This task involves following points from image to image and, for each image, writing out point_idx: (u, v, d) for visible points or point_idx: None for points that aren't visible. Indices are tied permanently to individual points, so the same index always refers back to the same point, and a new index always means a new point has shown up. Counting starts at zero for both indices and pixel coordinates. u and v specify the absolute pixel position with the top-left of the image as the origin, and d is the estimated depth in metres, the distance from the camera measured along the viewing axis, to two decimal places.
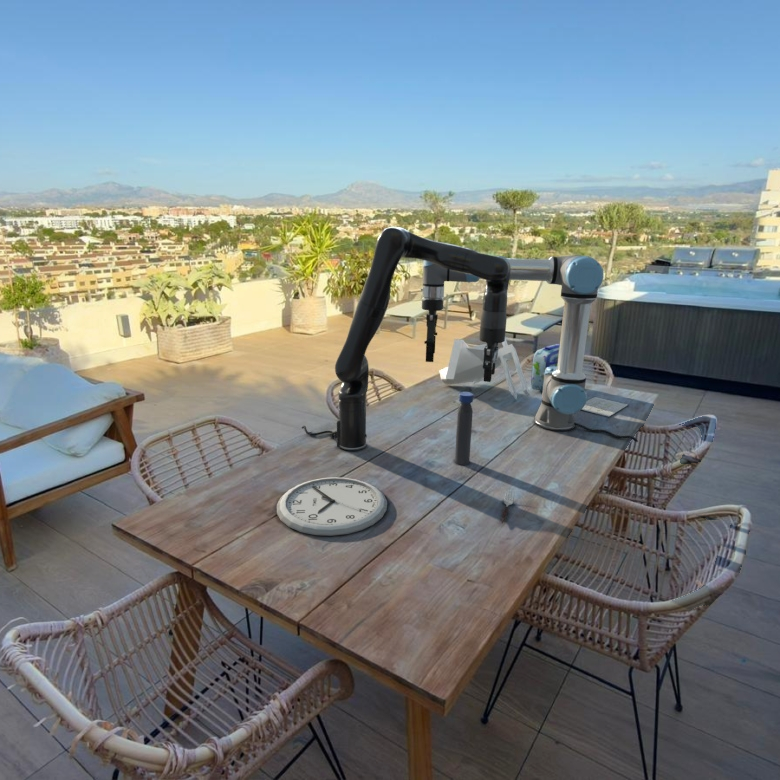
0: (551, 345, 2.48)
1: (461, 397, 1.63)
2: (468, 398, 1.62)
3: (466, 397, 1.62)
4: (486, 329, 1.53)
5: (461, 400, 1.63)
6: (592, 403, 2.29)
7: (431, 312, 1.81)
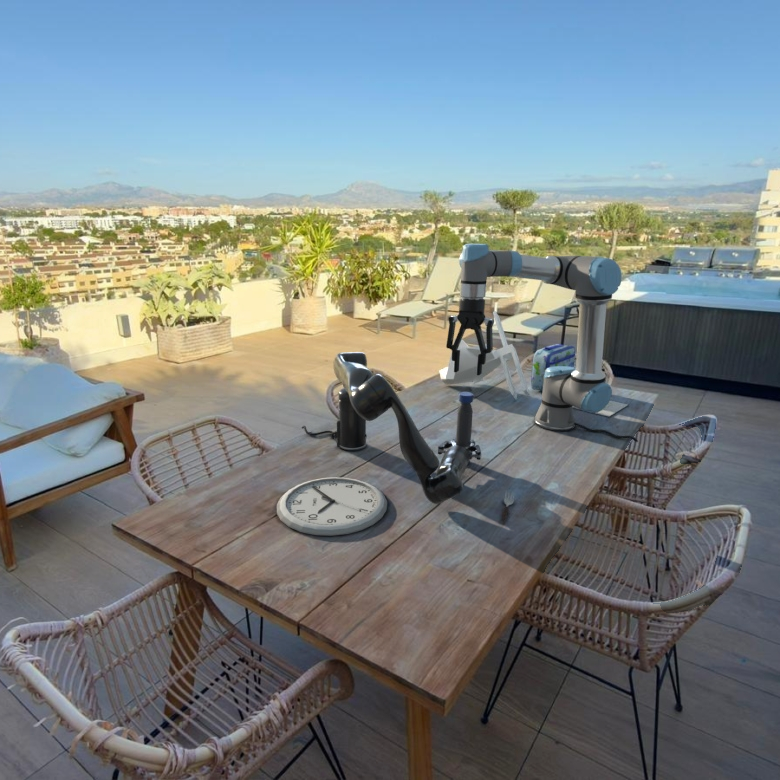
0: (551, 345, 2.48)
1: (461, 397, 1.63)
2: (468, 398, 1.62)
3: (466, 397, 1.62)
4: (444, 455, 1.57)
5: (461, 400, 1.63)
6: None
7: None
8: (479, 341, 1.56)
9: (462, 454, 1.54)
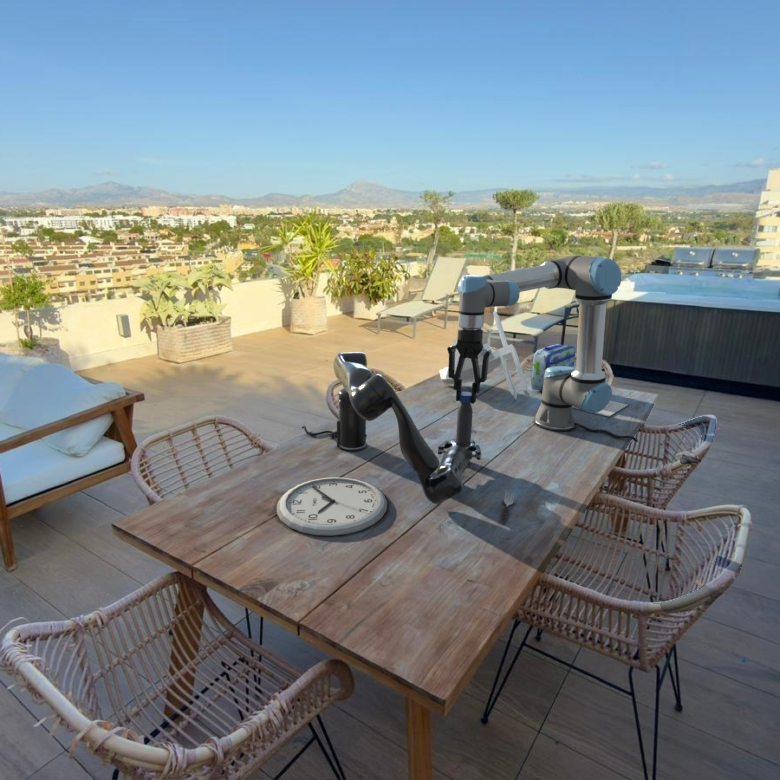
0: (551, 345, 2.48)
1: (461, 397, 1.63)
2: (468, 398, 1.62)
3: (466, 397, 1.62)
4: (444, 455, 1.57)
5: (461, 400, 1.63)
6: None
7: None
8: (474, 370, 1.59)
9: (462, 454, 1.54)
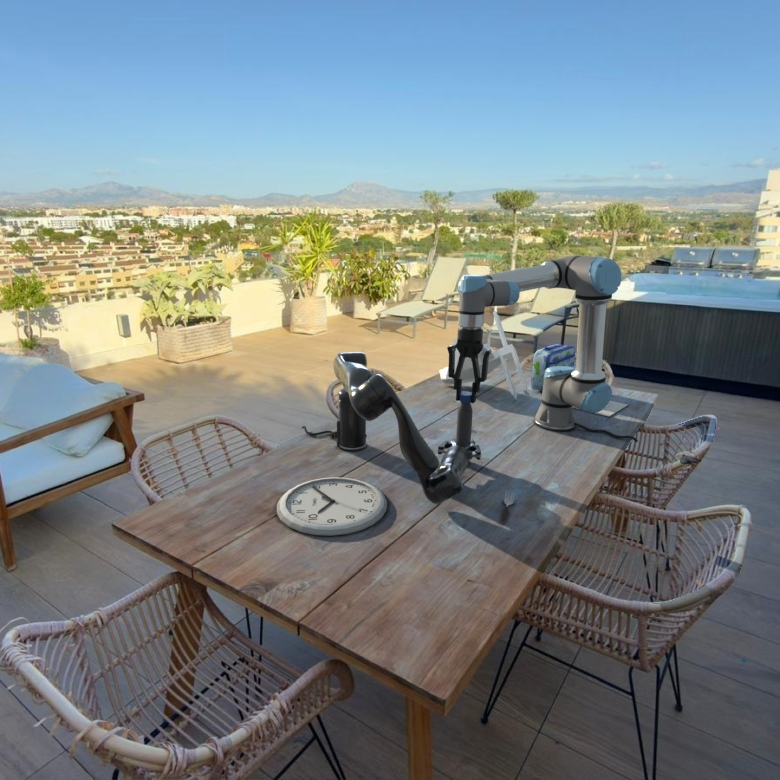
0: (551, 345, 2.48)
1: None
2: None
3: None
4: (444, 455, 1.57)
5: None
6: None
7: None
8: (475, 370, 1.59)
9: (462, 454, 1.54)
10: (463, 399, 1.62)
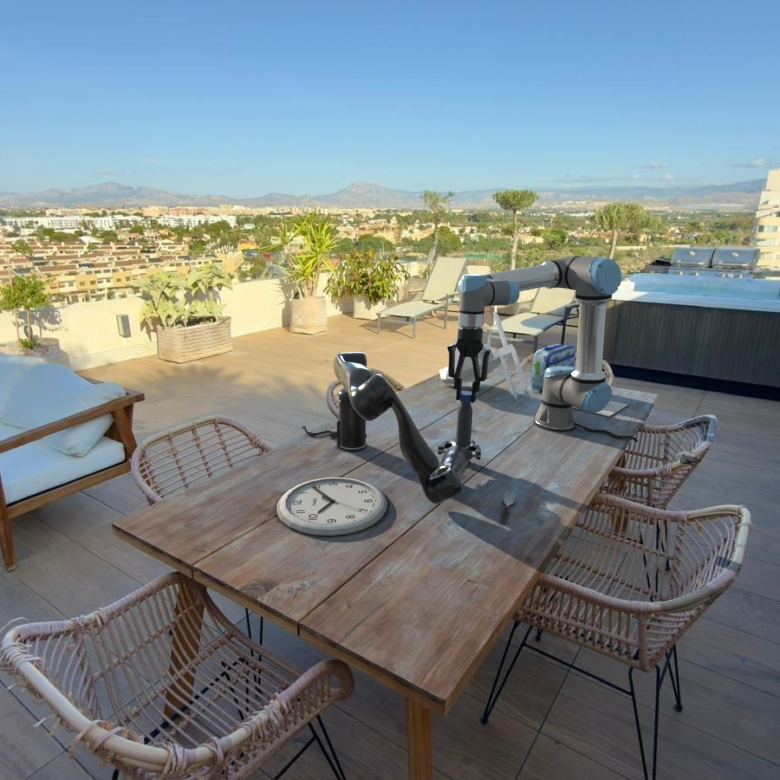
0: (551, 345, 2.48)
1: None
2: (459, 395, 1.64)
3: None
4: (444, 455, 1.57)
5: None
6: None
7: None
8: (475, 369, 1.59)
9: (462, 454, 1.54)
10: None
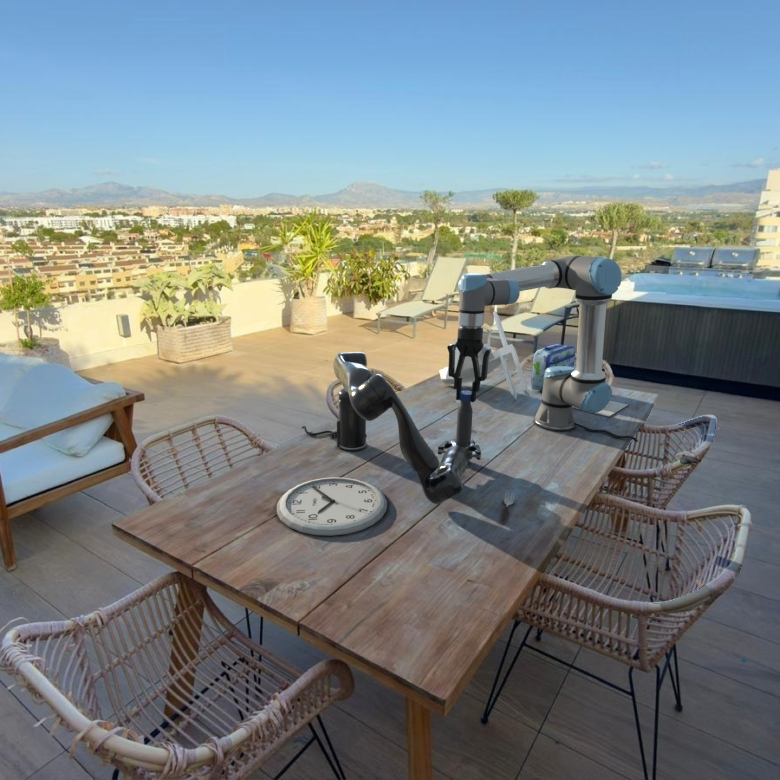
0: (551, 345, 2.48)
1: (462, 395, 1.62)
2: (469, 397, 1.62)
3: (467, 396, 1.62)
4: (444, 455, 1.57)
5: (462, 399, 1.63)
6: None
7: None
8: (475, 369, 1.59)
9: (462, 454, 1.54)
10: None
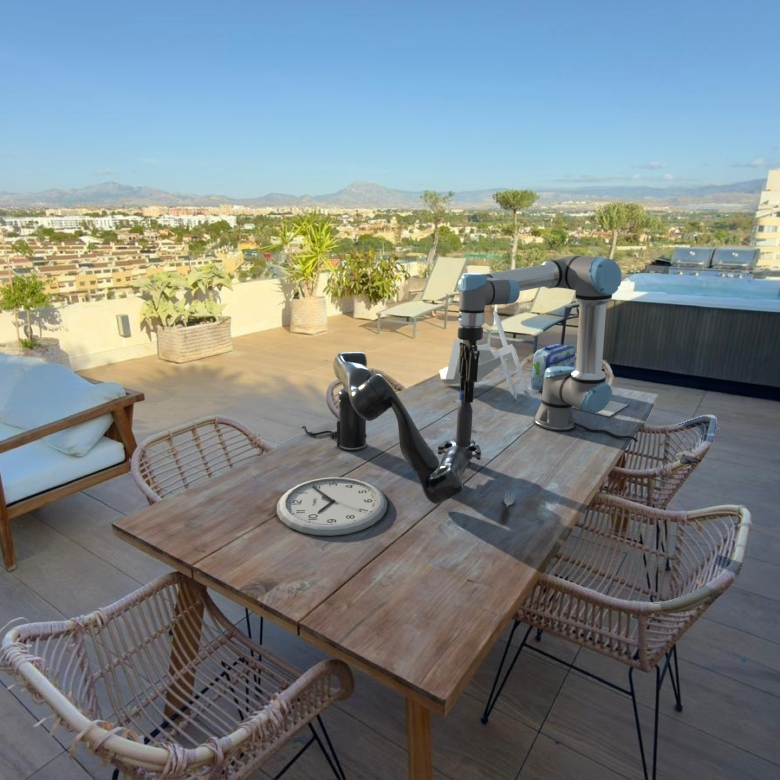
0: (551, 345, 2.48)
1: None
2: None
3: None
4: (444, 455, 1.57)
5: None
6: None
7: (472, 342, 1.55)
8: None
9: (462, 454, 1.54)
10: None
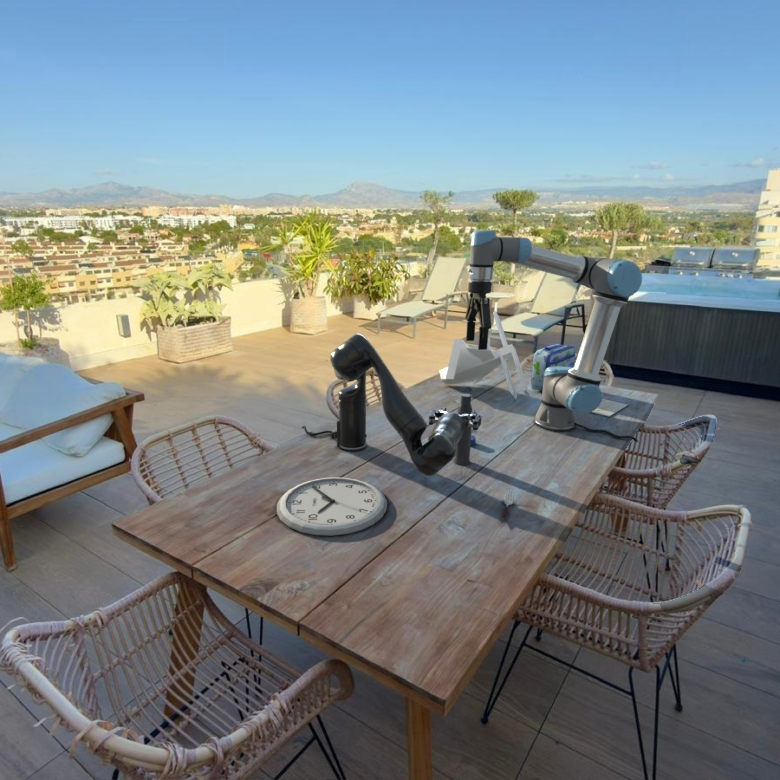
0: (551, 345, 2.48)
1: (475, 439, 1.85)
2: None
3: None
4: None
5: None
6: None
7: (482, 295, 1.66)
8: None
9: (457, 421, 1.37)
10: None
